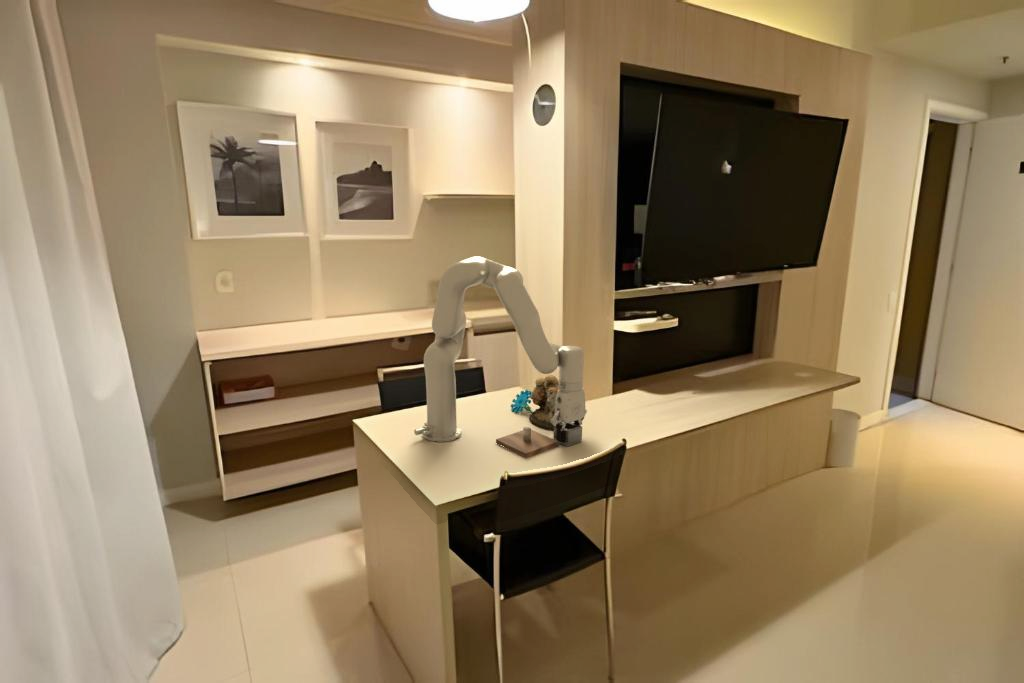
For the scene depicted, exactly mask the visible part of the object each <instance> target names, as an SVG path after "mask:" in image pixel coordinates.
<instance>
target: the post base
mask: <svg viewBox="0 0 1024 683" xmlns="http://www.w3.org/2000/svg"><path fill="white" fill-rule="evenodd" d="M496 443H497V444H496ZM495 444H496V445H498V444H499V445H498V446H500V445H502V446H504V447H505V448H504V447H503V448H504V449H506V448H507V449H506V450H508V449H509V451H510V450H511V451H510V452H512V451H513V452H512V453H514V452H515V453H514V454H516V453H517V455H518V454H519V456H520V455H521V457H522V456H523V457H522V458H525V459H527V458H530V457H532V456H536V455H538V454H540V453H543V452H545V451H548V450H551V449H553V448H556V447H559V442H558V441H557V440H554V438H552V437H549V436H547V435H545V434H542V433H540V432H539V431H538V432H537V431H535V430H532V428H531V427H530V426H525V427H523V429H522V430H520V431H516V432H514V433H511V434H507V435H505V436H502V437H498V438H496V439H495ZM502 446H501V447H502Z"/></svg>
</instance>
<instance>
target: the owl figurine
mask: <svg viewBox="0 0 1024 683" xmlns="http://www.w3.org/2000/svg"><path fill="white" fill-rule="evenodd" d="M558 385H559V378H557V377H556V376H555V375H553V374H547V375H546V376H545V377H539V378H537V379H535V387H534V388H533V390H532V391H531V392H532V396H531V397H530V398H529V399H530V400H531V402H532V403H533V404H534V405H535V406H537V407H539V408H536V409H535V410H533V411H532V412H533V413H530V414H529V417H528V420H529V422H530V423H531V424H532V425H534V426H535V427H538V428H540V429H543V430H547V431H554V426H553V424H552V423H551V419H552V418H553V416H554V415H555V402H556V396H557V391H558V390H559V389H558ZM561 423H562V422H561Z"/></svg>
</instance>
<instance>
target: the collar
mask: <svg viewBox="0 0 1024 683" xmlns="http://www.w3.org/2000/svg"><path fill="white" fill-rule="evenodd" d="M560 425H562V423H560ZM564 431H565V442H564V443H562V442H560V441H558V444H562V445H564V446H566V447H570V446H573V445H575V444H576V445H577V444H579V443H581V442H583V441H582V440H583V426H582V425H580V426H579V425H576V424H574V422H571V423H567V424H566V425H565V428H564ZM556 435H557V429H555V427H554V430H553V439H554V440H556Z"/></svg>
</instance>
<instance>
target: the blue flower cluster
mask: <svg viewBox="0 0 1024 683" xmlns="http://www.w3.org/2000/svg"><path fill="white" fill-rule="evenodd" d="M519 393H520V394H519ZM519 393H516V395H515V397H516V399H515V398H513V399H512V401H511V404H510V406H509V407H510V408H511V411H512V412H513V411H514V413H516V414H518V412H520V413H522V412H523V411H524V410H525V411H527V412H529V413H530V414H531V413H533V412H534V411H533V410H532V407H530V406H529V404H531V403H532V399H531V398H530V397H531V396H532V391H531V390H528V389H525V390H521V391H520V392H519Z"/></svg>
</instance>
